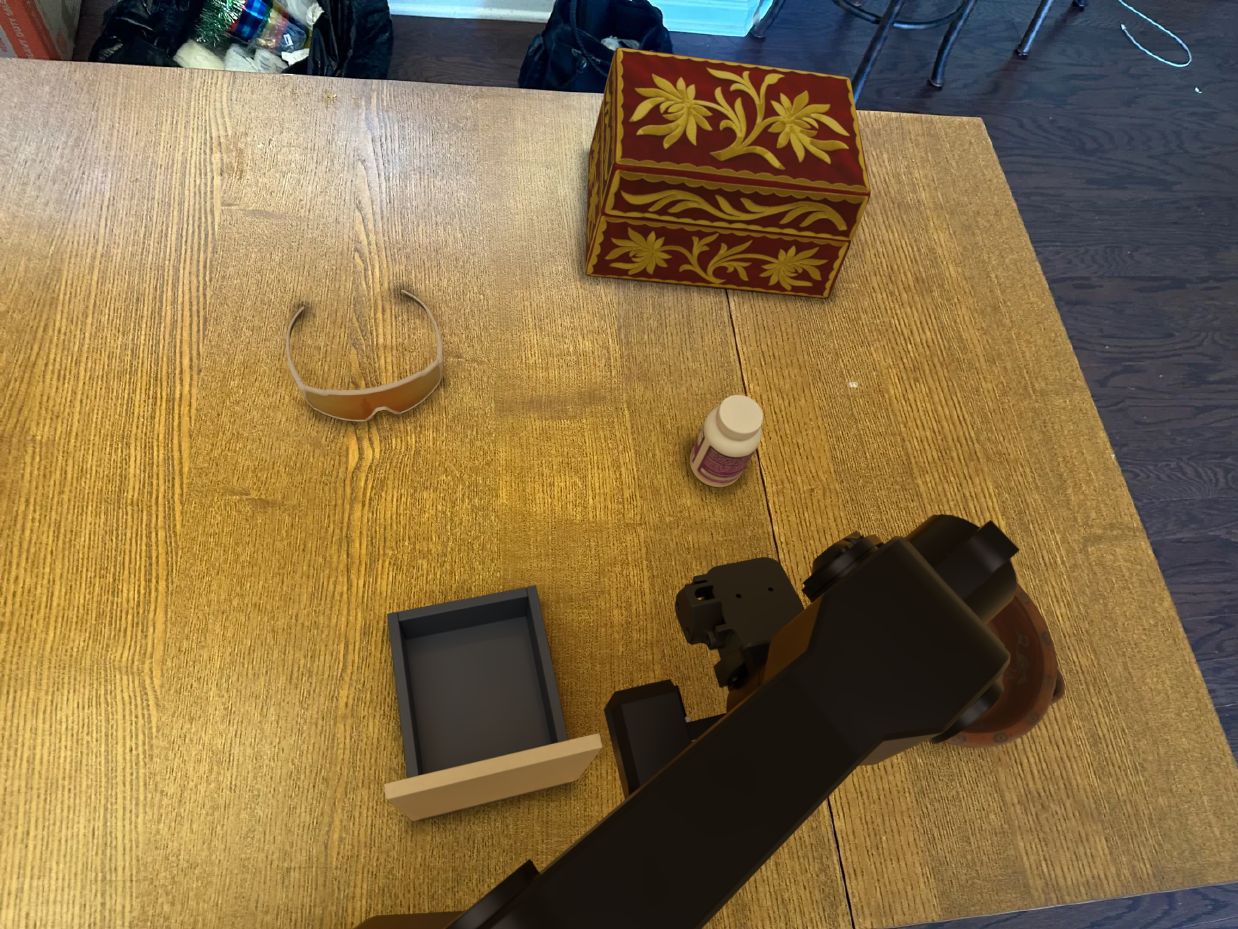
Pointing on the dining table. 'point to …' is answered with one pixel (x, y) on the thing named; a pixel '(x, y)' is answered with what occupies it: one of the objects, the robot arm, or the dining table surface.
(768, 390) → the dining table surface
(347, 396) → the sunglasses
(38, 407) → the dining table surface
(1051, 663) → the dish
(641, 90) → the decorative box
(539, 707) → the box
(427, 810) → the lid
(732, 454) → the pill bottle
